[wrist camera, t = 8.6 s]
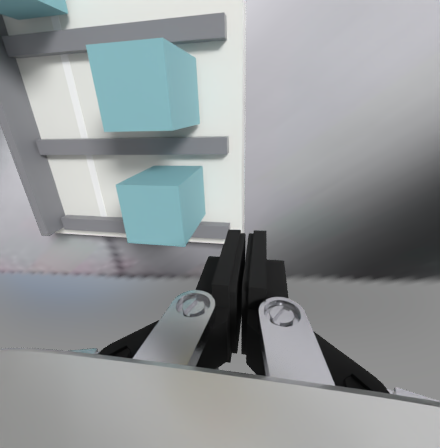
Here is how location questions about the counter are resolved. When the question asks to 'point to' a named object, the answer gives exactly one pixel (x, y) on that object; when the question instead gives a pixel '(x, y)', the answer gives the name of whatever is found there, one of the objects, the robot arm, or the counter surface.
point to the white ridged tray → (121, 141)
